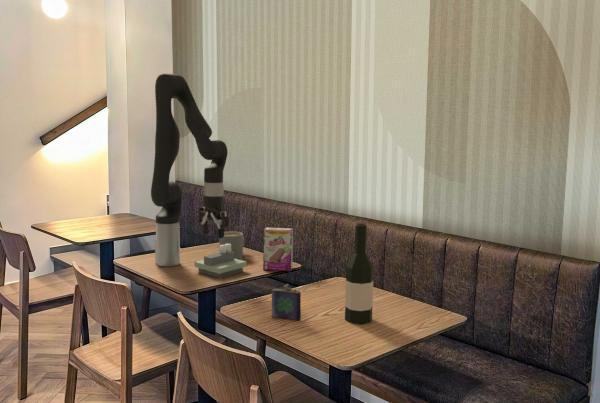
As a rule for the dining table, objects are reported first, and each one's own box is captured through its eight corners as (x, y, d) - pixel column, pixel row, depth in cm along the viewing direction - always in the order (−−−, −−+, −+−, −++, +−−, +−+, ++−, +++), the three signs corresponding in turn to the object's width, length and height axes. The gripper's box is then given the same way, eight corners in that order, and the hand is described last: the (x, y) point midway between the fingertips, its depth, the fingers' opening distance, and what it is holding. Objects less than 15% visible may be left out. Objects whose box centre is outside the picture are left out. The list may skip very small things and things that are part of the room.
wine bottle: (361, 326, 180) (364, 226, 175) (339, 319, 185) (341, 222, 180) (377, 319, 186) (381, 222, 181) (355, 313, 191) (358, 219, 186)
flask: (270, 318, 186) (270, 284, 184) (273, 315, 188) (274, 281, 187) (299, 321, 183) (299, 287, 181) (302, 318, 186) (302, 284, 184)
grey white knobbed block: (203, 264, 231) (203, 248, 230) (227, 258, 240) (227, 242, 239) (211, 265, 229) (210, 249, 228) (234, 260, 238) (234, 244, 237)
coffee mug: (229, 261, 252) (229, 237, 250) (214, 256, 259) (214, 233, 257) (253, 255, 262) (253, 232, 260) (238, 251, 268) (238, 229, 267)
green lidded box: (194, 272, 235) (194, 261, 234) (221, 265, 245) (221, 255, 245) (219, 279, 226) (219, 268, 225) (246, 271, 237) (246, 261, 236)
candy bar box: (262, 270, 238) (263, 229, 235) (264, 267, 243) (265, 227, 240) (291, 271, 237) (291, 230, 234) (292, 268, 242) (293, 228, 239)
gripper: (193, 192, 230) (193, 234, 232) (218, 197, 221) (218, 241, 223) (208, 190, 235) (208, 231, 238) (233, 195, 226) (233, 237, 229)
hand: (213, 236), depth 231 cm, fingers open, 8 cm apart
